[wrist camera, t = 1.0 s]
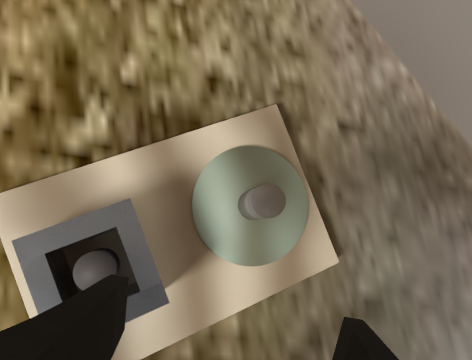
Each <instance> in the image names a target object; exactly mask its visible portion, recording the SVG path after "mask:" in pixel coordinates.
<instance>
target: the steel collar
mask: <svg viewBox="0 0 472 360" xmlns="http://www.w3.org/2000/svg"><path fill="white" fill-rule="evenodd" d="M116 229H117V230H118V233H119V235H120V238H121V241H122V243H123V246H124V249H125V251H126V254H127V257H128V259H129V262H130V265H131V267H132V270H133V273H134V275H135V278H136V281H137V282H135V283H132V284H130V285H128V295H127V307H126V319H125V323H127V322H129V321H131V320H133V319H136V318H138V317H140V316H142V315H144V314H147V313H149V312H151V311H153V310H155V309H158V308H160V307H162V306H164V305H166V304H169V303H170V302H169V300H168V297H167V294H166V292H165V289H164V286H163V284H162V281H161V278H160V276H159V273H158V270H157V268H156V265H155V262H154V260H153V257H152V255H151V252H150V249H149V247H148V244H147V241H146V239H145V236H144V233H143V231H142V228H141V225H140V223H139V220H138V217H137V215H136V212H135V209H134V207H133V204H132V201H131V199H130V198H129V199H126V200H123V201H120V202H118V203H115V204H112V205H109V206H106V207H104V208H101V209H98V210H95V211H93V212H90V213H87V214H84V215H81V216H79V217H76V218H73V219H70V220H68V221H65V222H62V223H59V224H56V225H54V226H51V227H48V228H45V229H42V230H40V231H37V232H34V233H31V234H29V235H26V236H23V237H20V238H17V239H15V240H12V244H13V247H14V250H15V252H16V255H17V258H18V261H19V263H20V266H21V269H22V272H23V274H24V277H25V280H26V283H27V285H28V288H29V291H30V294H31V296H32V299H33V302H34V305H35V307H36V310H37V313H38V314H40V313H42V312H44V311H46V310H48V309H50V308H52V307H54V306H56V305H58V304H60V303H62V302H64V301H65V300H67V299H69V298H71V297H72V296H74V295H76V294H78V293H79V291H78V289H77V286H76V283H75V281H74V279H73V275H72V272H71V270H70V267H69V264H68V262H67V259H66V256H65V253H64V251H63V249H66V248H68V247H71V246H74V245H76V244H79V243H82V242H84V241H87V240H90V239H92V238H95V237H97V236H100V235H103V234H105V233H108V232H111V231H113V230H116Z"/></svg>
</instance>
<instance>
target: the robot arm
mask: <svg viewBox="0 0 472 360" xmlns="http://www.w3.org/2000/svg"><path fill="white" fill-rule="evenodd" d="M128 282H129V277H124V276H118V275H113V274H111V275H109V276H107V277H105V278H103V279H102V280H100V281H98V282H97V283H95V284H93V285H91V286H90V287H88V288H86V289H85V290H83V291H81V292H79V293H78V294H76V295H74V296H72V297H71V298H69V299H67V300H65V301H64V302H62V303H60V304H58V305H56V306H54V307H52V308H50V309H48V310H46V311H44V312H42V313H40V314H38V315H36V316H34V317H32V318H30V319H28V320H26V321H24V322H21V323H19V324H17V325H14V326H12V327H10V328H7V329H5V330H2V331H0V360H111V359H112V357H113V355H114V352H115V350H116V348H117V346H118V344H119V341H120V339H121V337H122V334H123V332H124V330H125V319H126V307H127V295H128ZM332 360H399V359H398V358H397V357H396V356H395V355H394V354H393V353H392V352H391V350H390V349H389V348H388V347H387V346H386V345H385V344H384V343H383V341H382V340H381V339H380V338H379V337H378V336H377V335H376V334H375V332H374V331H373V330H372V329H371V328H370V327H369V326H368V325H367V324H366V323H365V322H364V321H363V320H360V319H354V318H349V317H344V319H343V323H342V326H341V330H340V334H339V337H338V341H337V344H336V348H335V352H334V355H333V359H332Z"/></svg>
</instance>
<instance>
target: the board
mask: <svg viewBox="0 0 472 360" xmlns="http://www.w3.org/2000/svg"><path fill="white" fill-rule="evenodd" d="M129 198H130V199H131V201H132V204H133V207H134V209H135V212H136V215H137V217H138V220H139V223H140V225H141V228H142V231H143V233H144V236H145V239H146V241H147V244H148V247H149V249H150V252H151V255H152V257H153V260H154V262H155V265H156V268H157V270H158V273H159V276H160V278H161V281H162V284H163V286H164V289H165V292H166V294H167V297H168V300H169V302H170V303H169V304H166V305H164V306H162V307H160V308H158V309H155V310H153V311H151V312H149V313H147V314H144V315H142V316H140V317H138V318H136V319H133V320H131V321H129V322H127V323H125V330H124V332H123V334H122V337H121V339H120V341H119V344H118V346H117V348H116V350H115V352H114V355H113V357H112V359H111V360H141V359H143V358H145V357H147V356H149V355H151V354H153V353H155V352H157V351H159V350H161V349H163V348H165V347H167V346H169V345H171V344H173V343H175V342H177V341H179V340H181V339H184V338H186V337H188V336H190V335H192V334H194V333H196V332H198V331H200V330H202V329H204V328H206V327H208V326H210V325H212V324H214V323H216V322H218V321H220V320H222V319H224V318H226V317H229V316H231V315H233V314H235V313H237V312H239V311H241V310H243V309H245V308H247V307H249V306H251V305H253V304H255V303H257V302H259V301H261V300H263V299H265V298H267V297H269V296H271V295H273V294H276V293H278V292H280V291H282V290H284V289H286V288H288V287H290V286H292V285H294V284H296V283H298V282H300V281H302V280H304V279H306V278H308V277H310V276H312V275H314V274H316V273H318V272H320V271H323V270H325V269H327V268H329V267H331V266H333V265H335V264H337V263H339V260H338V258H337V255H336V253H335V250H334V248H333V245H332V243H331V240H330V238H329V235H328V233H327V230H326V228H325V225H324V223H323V220H322V218H321V215H320V213H319V210H318V207H317V205H316V202H315V200H314V197H313V195H312V192H311V190H310V187H309V185H308V182H307V180H306V177H305V175H304V172H303V170H302V167H301V165H300V162H299V160H298V157H297V155H296V152H295V149H294V147H293V144H292V142H291V139H290V137H289V134H288V132H287V129H286V127H285V124H284V122H283V119H282V117H281V114H280V112H279V109H278V107H277V104H275V105H272V106H269V107H266V108H262V109H259V110H256V111H253V112H250V113H247V114H244V115H241V116H238V117H235V118H231V119H228V120H225V121H222V122H219V123H216V124H213V125H210V126H207V127H204V128H200V129H197V130H194V131H191V132H188V133H185V134H182V135H179V136H176V137H173V138H170V139H166V140H163V141H160V142H157V143H154V144H151V145H148V146H145V147H142V148H139V149H135V150H132V151H129V152H126V153H123V154H120V155H117V156H114V157H111V158H108V159H104V160H101V161H98V162H95V163H92V164H89V165H86V166H83V167H80V168H77V169H73V170H70V171H67V172H64V173H61V174H58V175H55V176H52V177H49V178H46V179H42V180H39V181H36V182H33V183H30V184H27V185H24V186H21V187H18V188H15V189H11V190H8V191H5V192H2V193H0V238H1V240H2V243H3V246H4V249H5V251H6V254H7V257H8V260H9V262H10V265H11V268H12V271H13V274H14V276H15V279H16V282H17V285H18V287H19V290H20V293H21V296H22V298H23V301H24V304H25V307H26V310H27V312H28V315H29V318H32V317H34V316H36V315H38V313H37V310H36V307H35V305H34V302H33V299H32V296H31V294H30V291H29V288H28V285H27V283H26V280H25V277H24V274H23V272H22V269H21V266H20V263H19V261H18V258H17V255H16V252H15V250H14V247H13V244H12V240H15V239H17V238H20V237H23V236H26V235H29V234H31V233H34V232H37V231H40V230H42V229H45V228H48V227H51V226H54V225H56V224H59V223H62V222H65V221H68V220H70V219H73V218H76V217H79V216H81V215H84V214H87V213H90V212H93V211H95V210H98V209H101V208H104V207H106V206H109V205H112V204H115V203H118V202H120V201H123V200H126V199H129ZM63 251H64V253H65V256H66V259H67V262H68V264H69V267H70V270H71V272H72V275H73V279H74V281H75V283H76V286H77V289H78V291H79V292H81V291H83V290H85V289H86V288H88V287H90V286H91V285H93V284H95V283H97V282H98V281H100V280H102V279H103V278H105V277H107V276H109V275H111V274H113V275H118V276H124V277H129V282H128V285H130V284H132V283H135V282H137V281H136V278H135V275H134V273H133V270H132V267H131V265H130V262H129V259H128V257H127V254H126V251H125V249H124V246H123V243H122V241H121V238H120V235H119V233H118V230H117V229H116V230H113V231H111V232H108V233H105V234H103V235H100V236H97V237H95V238H92V239H90V240H87V241H84V242H82V243H79V244H76V245H74V246H71V247H68V248H66V249H63Z"/></svg>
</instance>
